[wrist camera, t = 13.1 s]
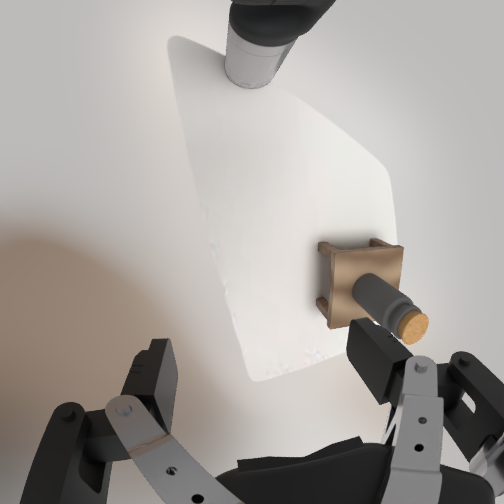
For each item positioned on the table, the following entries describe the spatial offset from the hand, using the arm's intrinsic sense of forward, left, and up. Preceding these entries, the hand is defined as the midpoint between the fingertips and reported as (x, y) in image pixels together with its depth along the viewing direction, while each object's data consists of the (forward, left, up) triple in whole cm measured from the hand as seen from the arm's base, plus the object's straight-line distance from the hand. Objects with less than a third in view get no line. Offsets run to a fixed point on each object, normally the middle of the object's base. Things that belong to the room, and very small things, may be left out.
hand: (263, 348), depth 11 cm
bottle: (+12, +22, -29) cm, 39 cm away
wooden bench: (+12, +23, -38) cm, 46 cm away
